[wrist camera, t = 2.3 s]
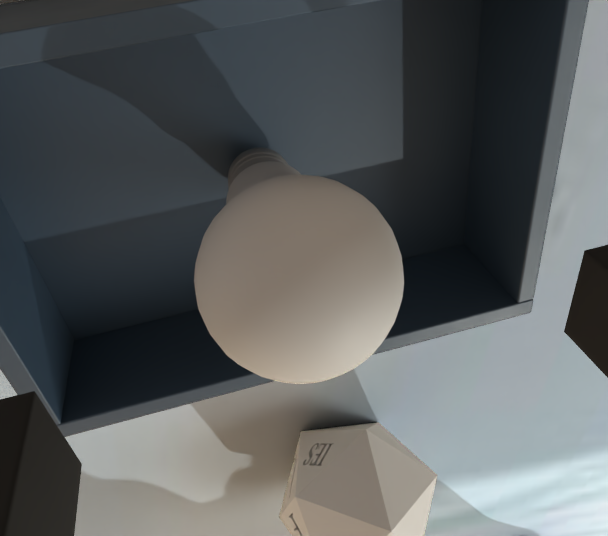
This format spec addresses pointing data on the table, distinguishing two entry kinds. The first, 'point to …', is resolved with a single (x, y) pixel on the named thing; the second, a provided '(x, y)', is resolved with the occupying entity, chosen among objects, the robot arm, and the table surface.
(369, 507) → the die
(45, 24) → the tote
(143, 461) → the table surface
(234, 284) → the lightbulb
